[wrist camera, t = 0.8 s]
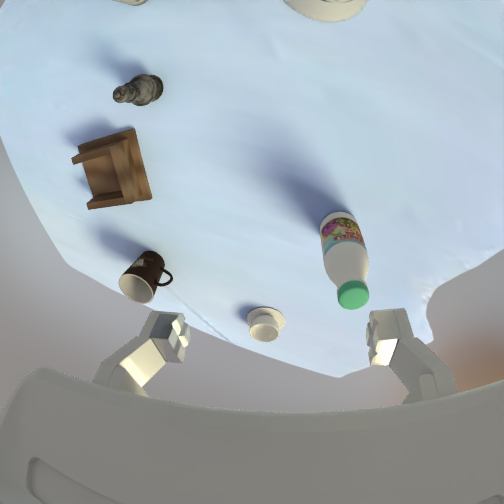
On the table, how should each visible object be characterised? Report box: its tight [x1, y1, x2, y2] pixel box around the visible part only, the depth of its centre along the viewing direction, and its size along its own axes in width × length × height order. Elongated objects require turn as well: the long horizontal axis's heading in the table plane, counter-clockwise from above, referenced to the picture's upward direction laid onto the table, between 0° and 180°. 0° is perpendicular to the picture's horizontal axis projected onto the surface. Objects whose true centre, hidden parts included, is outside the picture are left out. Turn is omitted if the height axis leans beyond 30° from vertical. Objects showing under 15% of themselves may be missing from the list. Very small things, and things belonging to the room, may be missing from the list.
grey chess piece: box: [113, 74, 163, 106], centre depth 38 cm, size 6×6×12 cm
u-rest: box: [71, 129, 152, 210], centre depth 51 cm, size 15×15×6 cm
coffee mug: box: [119, 251, 173, 304], centre depth 62 cm, size 12×9×10 cm
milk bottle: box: [320, 212, 369, 310], centre depth 46 cm, size 8×8×20 cm
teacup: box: [247, 307, 285, 342], centre depth 71 cm, size 10×10×5 cm
